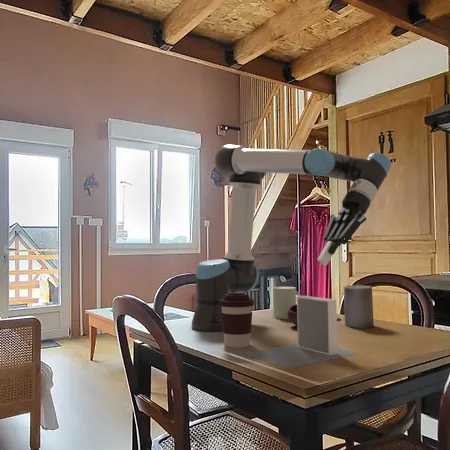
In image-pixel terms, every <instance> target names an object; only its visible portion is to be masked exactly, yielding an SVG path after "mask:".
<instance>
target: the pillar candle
mask: <svg viewBox="0 0 450 450" xmlns="http://www.w3.org/2000/svg"><path fill="white" fill-rule="evenodd" d="M343 300H344V301H343V302H344V305H343V306H344V308H343V309H344V325H345V327H347V328H356V329H368V328H371V327H372V328H373V327H374V304H373V303H374V302H373V300H374V299H373V288H372V286H371V285H365V284H364V285H363V284H361V285H360V284H359V282H358V283H357V284H354V285H344V286H343Z"/></svg>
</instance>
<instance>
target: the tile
mask: <svg viewBox="0 0 450 450" xmlns="http://www.w3.org/2000/svg"><path fill="white" fill-rule="evenodd" d="M296 304H297V325H296V326H297V344H298V347H300V348H304V349H308V350H311V351H315V352H319V353H323V354H326V355H334V354H337V348H338V321H337V318H338V317H337V316H338V315H337V312H338V311H337V299H332V298H327V297H325V298H324V297H319V296H318V297H317V296H310V295H309V296H308V295H299V296H298V295H296Z"/></svg>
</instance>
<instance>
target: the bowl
mask: <svg viewBox="0 0 450 450" xmlns="http://www.w3.org/2000/svg"><path fill="white" fill-rule="evenodd" d="M287 317H288V319H287V320H288V321H289V322H290V323H291V324H292V325H294V326H297V303H296V305H293V306H291V307H290V308H289V309H288V312H287Z"/></svg>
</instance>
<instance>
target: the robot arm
mask: <svg viewBox="0 0 450 450" xmlns="http://www.w3.org/2000/svg"><path fill="white" fill-rule="evenodd" d="M214 164H215V168H216V170H217V171H218V172H219V173H220V174H221V175H223V176H225V177H228V178H229V182H228V184H229V185H230V186H231V187H232V194H231V195H232V196H231V197H232V198H231V211H230V221H229V233H228V234H229V236H228V247H227V252H226V254H224V255H223V258H220V259H218V258H217V259H212V260H210V259H209V260H204V261H201V262H199V263H198V264H197V265H196V270H195V271H196V272H195V285H196V289H195V290H196V291H195V292H196V307H195V311H194V314H193V316H192V321H191V329H193V330H195V331H201V332H219V331H220V332H221V331H222V332H223V330H222V318H221V312H222V308H221V306H220V305H219V300H220V299H223V298H224V295H225V294H229V293H245V294H246V293H248V292H251V291H252V290H254V288H255V287H256V286H257V284H258V283H259V278H260V271H259V269H258V268H257V265H256V264H255V257H254V256H253V254H252V245H253V242H252V241H253V233H254V218H255V208H256V207H255V206H256V197H257V196H256V194H257V189H258V188H260V187H261V182H262V180H263V179H264V178H265V176H266V175H267V174H268V173H269V174H287V175H289V174H291V175H308V176H321V177H328V178H332V179H338V180H344V181H348V182H352V185H351V186H350V187H349V189H348V192H346V194H345V196H344V197H343V199H342V201H341V205H342V207H341V209H340V210H338V213H337V214H331V215H330V217H329V223H327V227H326V230H325V233H324V235H323V237H322V238H323V240H324V242H325V244H324V246H323V248H322V249H321V252H320V254H319V255H318V258H317V261H318V262H319V263H320V264H321V265H323V266H328V264H329V262H330V260H331V259H332V257H333V255H334V254H335V253H336V251H337V250H338V248H339V247H341V245H346V244H347V243H348V241H349V240H350V239H351V238H352V236H353V235H354V234H355V232H356V231H358V229H359V228H360V226H361V225H362V224H363V223H364V222H366V220H367V218H366V216H365V214H366V213H367V211H368V210H369V209H370V208H369V207H370V206H371V204H372V202H373V201H374V199H375V197H376V196H377V194H378V191H379V189H380V187H381V186H382V184H383V182H384V181H385V179H386V178H387V177H388V174H389V172H390V169H391V168H392V162H391V159H390V158H389V157H387V155H385V154H384V153H381V152H371V153H370V154H369V155H368V157H366V158H362V157H356V156H355V157H354V156H350V155H345V154H341V153H338V152H334V151H331V150H328V149H326V148H313V149H289V148H287V149H284V148H283V149H281V148H280V149H277V148H272V149H271V148H254V147H247V146H244V145H239V144H234V143H233V144H232V143H230V144H225V145H223V146H221V147H220V148H219V149H218V150H217V152H216V154H215V157H214Z"/></svg>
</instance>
